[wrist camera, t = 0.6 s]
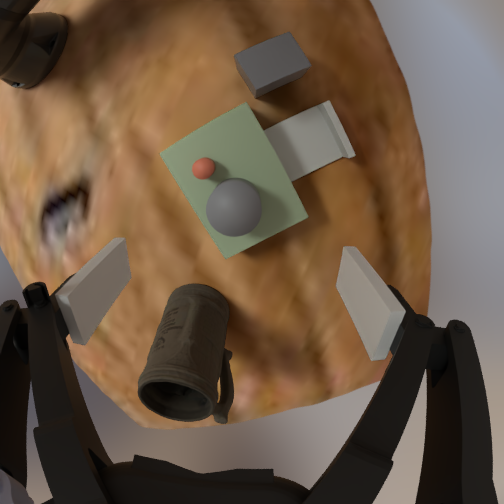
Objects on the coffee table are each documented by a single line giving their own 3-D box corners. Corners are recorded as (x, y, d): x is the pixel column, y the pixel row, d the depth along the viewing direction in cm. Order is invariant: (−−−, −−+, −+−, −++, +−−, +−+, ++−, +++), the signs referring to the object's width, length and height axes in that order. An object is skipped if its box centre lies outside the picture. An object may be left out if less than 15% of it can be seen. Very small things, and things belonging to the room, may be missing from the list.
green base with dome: (170, 151, 35) (147, 156, 26) (309, 78, 31) (326, 62, 22) (228, 244, 40) (222, 274, 32) (358, 178, 36) (386, 191, 28)
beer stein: (153, 306, 45) (121, 400, 27) (188, 267, 42) (162, 368, 24) (219, 349, 50) (216, 441, 33) (258, 318, 47) (269, 418, 29)
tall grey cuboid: (237, 69, 30) (233, 55, 24) (282, 48, 29) (289, 31, 22) (255, 98, 32) (256, 89, 26) (300, 77, 31) (311, 65, 24)
